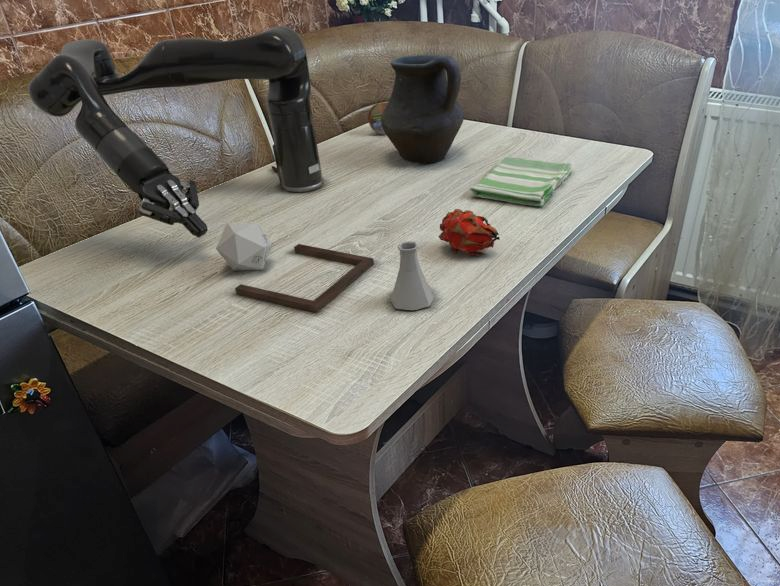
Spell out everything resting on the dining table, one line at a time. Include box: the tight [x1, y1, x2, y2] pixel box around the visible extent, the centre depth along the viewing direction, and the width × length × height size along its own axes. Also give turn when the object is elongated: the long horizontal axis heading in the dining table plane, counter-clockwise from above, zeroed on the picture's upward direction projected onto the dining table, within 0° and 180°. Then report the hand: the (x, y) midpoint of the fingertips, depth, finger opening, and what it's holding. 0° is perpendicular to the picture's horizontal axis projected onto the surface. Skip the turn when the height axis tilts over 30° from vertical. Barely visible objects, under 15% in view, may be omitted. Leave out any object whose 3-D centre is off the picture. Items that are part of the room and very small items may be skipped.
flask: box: [390, 240, 435, 311], centre depth 101 cm, size 7×7×10 cm
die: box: [215, 221, 274, 271], centre depth 113 cm, size 8×9×10 cm
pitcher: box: [381, 54, 465, 164], centre depth 154 cm, size 21×22×25 cm
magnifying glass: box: [367, 101, 388, 136], centre depth 178 cm, size 15×3×8 cm, turn 117°
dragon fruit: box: [438, 208, 501, 257], centre depth 116 cm, size 8×8×12 cm
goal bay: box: [234, 243, 375, 314], centre depth 111 cm, size 16×18×1 cm
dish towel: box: [469, 157, 573, 208], centre depth 144 cm, size 18×23×3 cm
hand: (203, 233), depth 116 cm, fingers closed
